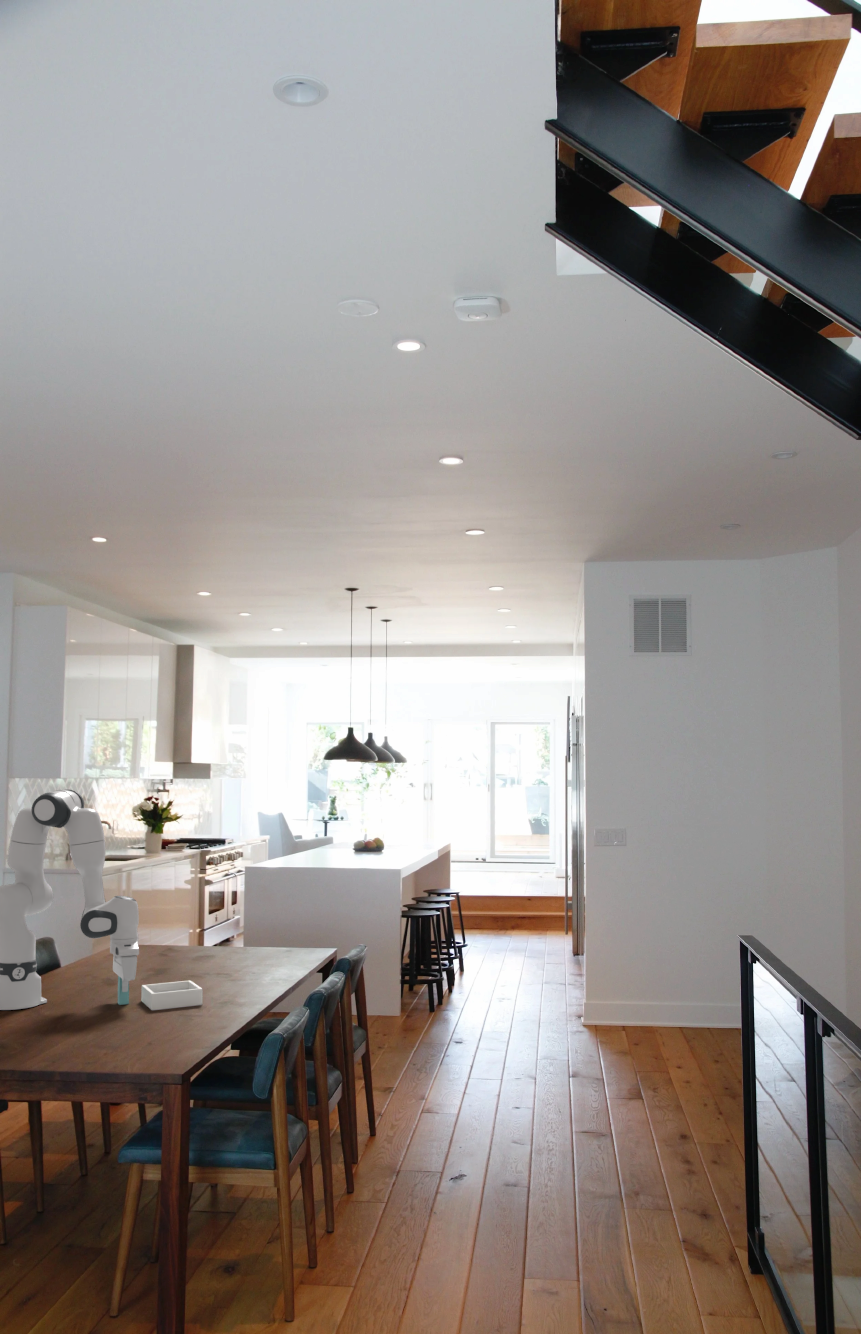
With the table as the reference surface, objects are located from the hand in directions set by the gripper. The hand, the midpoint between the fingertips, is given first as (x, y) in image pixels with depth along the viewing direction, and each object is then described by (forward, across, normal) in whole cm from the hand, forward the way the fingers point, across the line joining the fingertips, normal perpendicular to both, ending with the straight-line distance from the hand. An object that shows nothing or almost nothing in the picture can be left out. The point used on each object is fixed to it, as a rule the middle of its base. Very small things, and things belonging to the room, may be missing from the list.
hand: (123, 990), depth 335 cm
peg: (+4, 0, 0) cm, 4 cm away
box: (+4, +7, +14) cm, 16 cm away
